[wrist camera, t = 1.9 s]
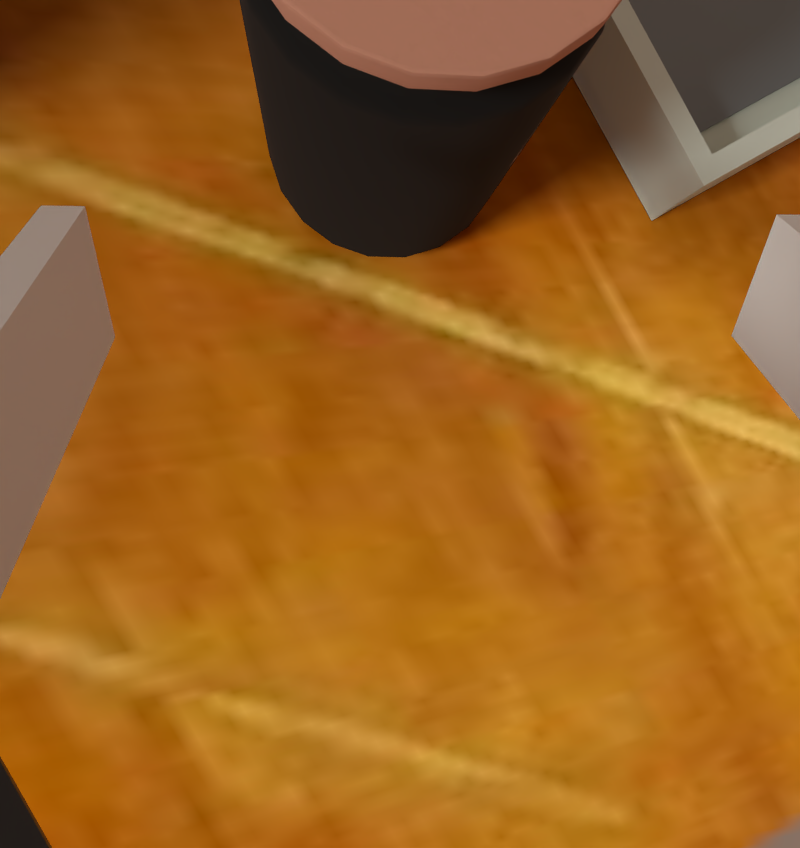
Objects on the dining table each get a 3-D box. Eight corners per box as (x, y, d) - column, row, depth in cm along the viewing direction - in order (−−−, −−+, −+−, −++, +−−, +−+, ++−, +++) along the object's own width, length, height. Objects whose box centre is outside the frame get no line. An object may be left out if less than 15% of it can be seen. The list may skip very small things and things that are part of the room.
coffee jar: (511, 249, 35) (703, 53, 17) (289, 278, 34) (250, 103, 16) (476, 30, 35) (632, -390, 17) (253, 52, 34) (176, -371, 16)
